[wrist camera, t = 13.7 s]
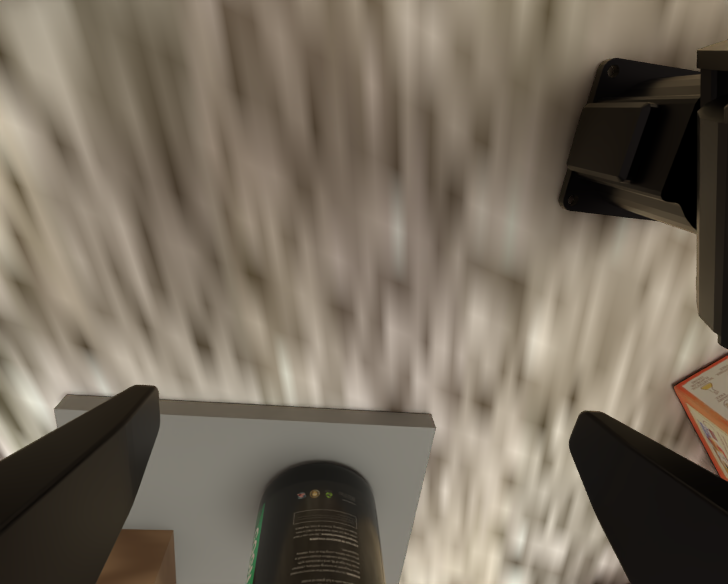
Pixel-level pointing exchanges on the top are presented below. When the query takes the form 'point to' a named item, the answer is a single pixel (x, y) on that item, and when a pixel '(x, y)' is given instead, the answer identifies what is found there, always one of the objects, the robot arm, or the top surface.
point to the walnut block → (141, 558)
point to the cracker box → (709, 410)
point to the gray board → (265, 474)
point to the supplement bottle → (317, 529)
